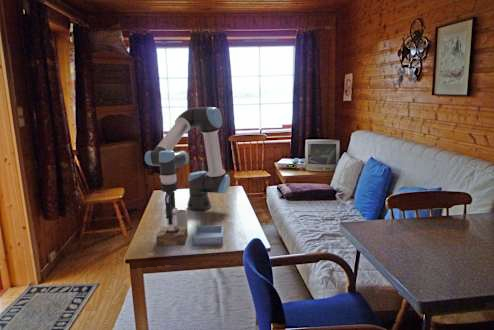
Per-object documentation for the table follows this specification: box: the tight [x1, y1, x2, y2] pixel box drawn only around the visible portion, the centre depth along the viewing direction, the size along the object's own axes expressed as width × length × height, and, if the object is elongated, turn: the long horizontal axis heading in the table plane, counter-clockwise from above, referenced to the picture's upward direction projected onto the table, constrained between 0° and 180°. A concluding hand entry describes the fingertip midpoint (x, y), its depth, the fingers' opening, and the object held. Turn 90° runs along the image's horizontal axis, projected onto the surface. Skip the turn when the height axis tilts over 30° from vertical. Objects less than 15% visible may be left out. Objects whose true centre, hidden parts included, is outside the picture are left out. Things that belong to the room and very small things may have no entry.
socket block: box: [156, 226, 189, 247], centre depth 180 cm, size 13×13×5 cm
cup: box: [176, 209, 189, 228], centre depth 197 cm, size 7×10×9 cm
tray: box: [192, 224, 225, 247], centre depth 180 cm, size 16×14×4 cm
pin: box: [163, 207, 179, 233], centre depth 179 cm, size 6×6×15 cm
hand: (172, 228), depth 179 cm, fingers closed on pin, 5 cm apart
